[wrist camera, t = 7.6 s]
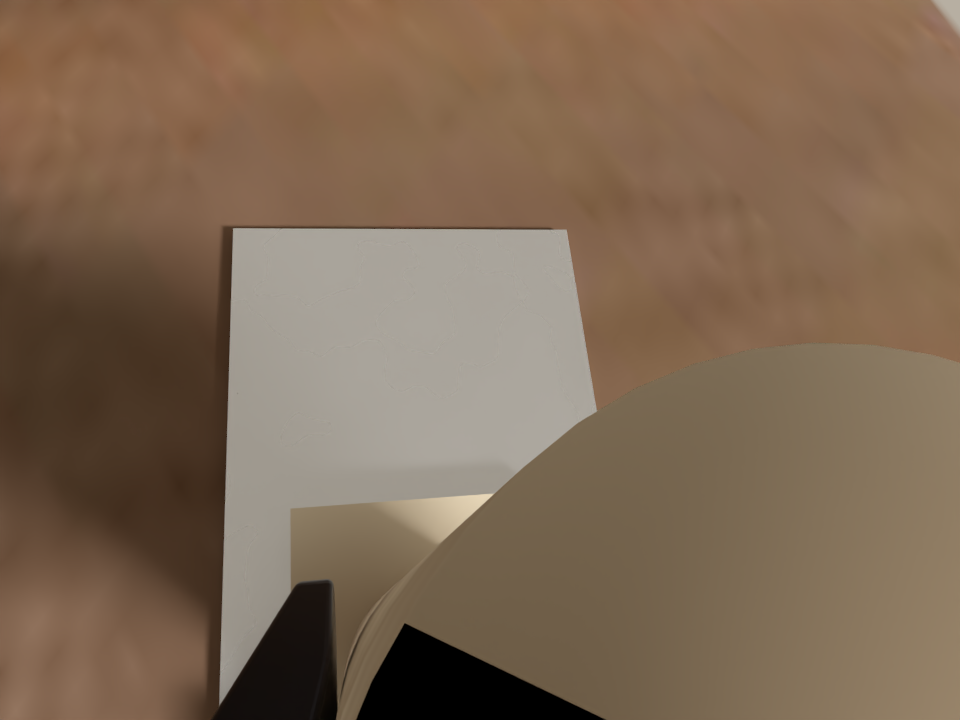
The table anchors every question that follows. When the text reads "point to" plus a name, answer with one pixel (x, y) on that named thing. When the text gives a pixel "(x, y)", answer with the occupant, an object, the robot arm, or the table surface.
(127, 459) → the table surface
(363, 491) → the grey rectangular plate
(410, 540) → the beige peg stand
